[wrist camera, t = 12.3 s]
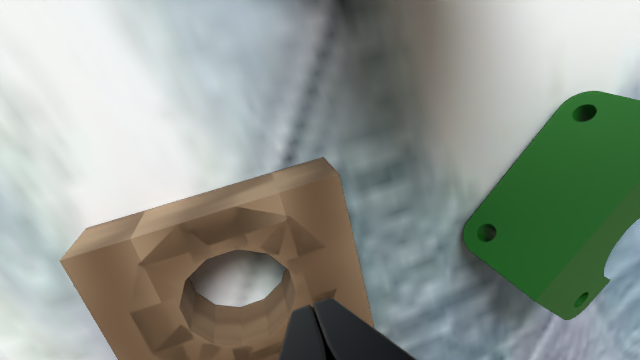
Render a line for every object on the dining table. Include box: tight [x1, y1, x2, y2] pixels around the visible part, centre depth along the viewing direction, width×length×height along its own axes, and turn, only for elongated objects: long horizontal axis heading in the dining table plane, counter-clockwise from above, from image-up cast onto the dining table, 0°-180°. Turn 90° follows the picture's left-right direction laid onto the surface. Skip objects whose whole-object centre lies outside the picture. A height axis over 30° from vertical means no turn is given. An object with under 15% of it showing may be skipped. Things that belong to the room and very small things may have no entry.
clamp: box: [463, 91, 640, 320], centre depth 21 cm, size 12×6×9 cm, turn 136°
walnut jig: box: [60, 157, 374, 360], centre depth 20 cm, size 12×18×3 cm
